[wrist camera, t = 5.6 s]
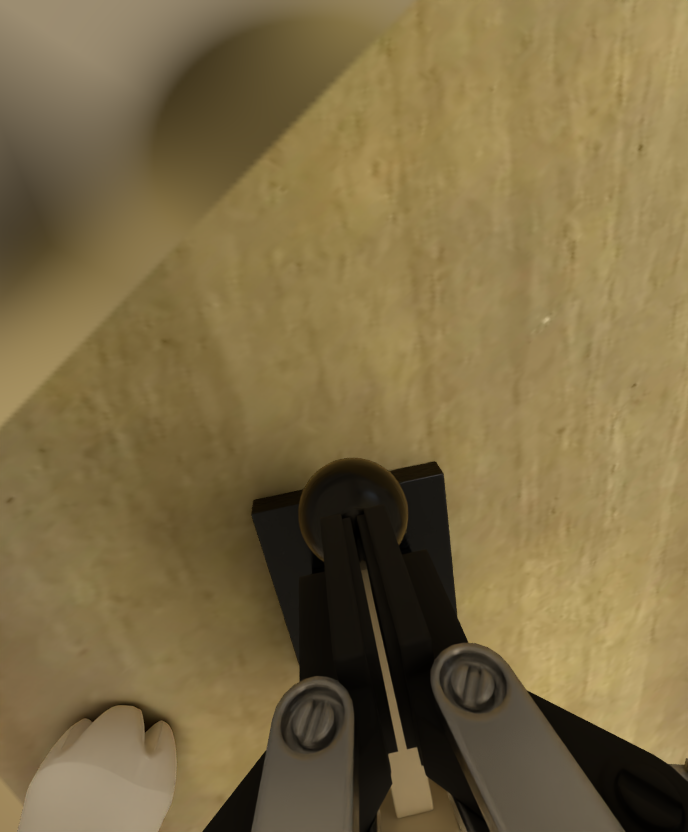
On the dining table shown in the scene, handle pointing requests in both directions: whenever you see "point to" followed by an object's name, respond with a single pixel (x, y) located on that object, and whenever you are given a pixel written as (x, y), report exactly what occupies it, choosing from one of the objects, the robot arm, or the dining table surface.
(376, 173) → the dining table surface
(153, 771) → the water bottle
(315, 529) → the switch lever
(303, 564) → the bracket
